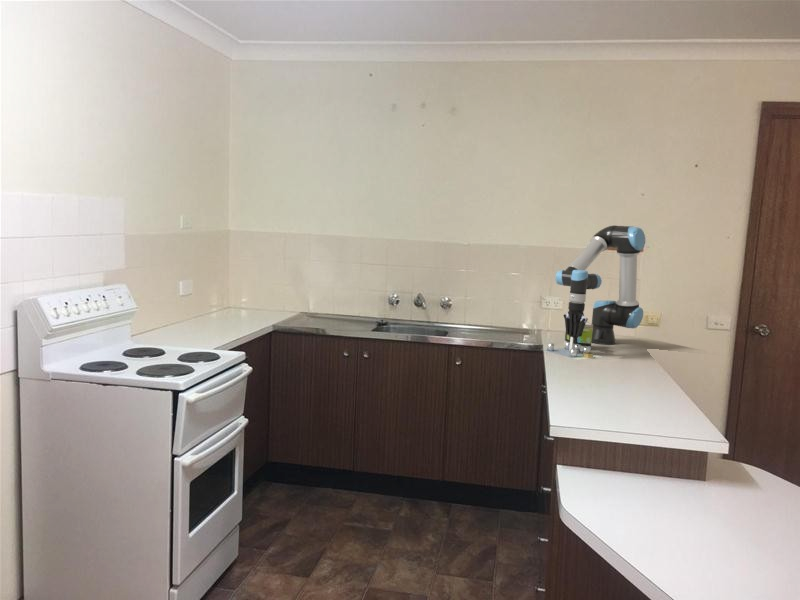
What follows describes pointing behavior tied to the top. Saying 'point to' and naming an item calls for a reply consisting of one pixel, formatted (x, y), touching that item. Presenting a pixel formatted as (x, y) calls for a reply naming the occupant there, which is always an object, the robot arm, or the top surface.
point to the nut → (587, 355)
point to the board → (567, 353)
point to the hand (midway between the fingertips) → (572, 350)
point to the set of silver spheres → (572, 351)
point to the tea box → (584, 336)
